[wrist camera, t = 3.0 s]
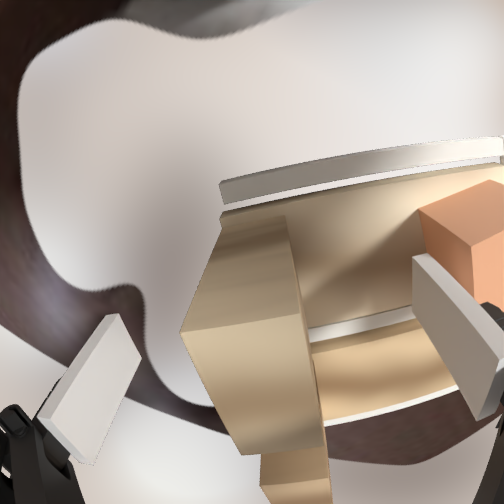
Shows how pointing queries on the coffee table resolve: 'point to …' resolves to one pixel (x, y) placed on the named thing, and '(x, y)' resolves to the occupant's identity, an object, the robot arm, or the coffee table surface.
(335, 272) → the wooden slider
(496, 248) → the cube
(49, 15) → the coffee table surface
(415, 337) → the wooden l-shaped block
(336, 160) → the lane rails
